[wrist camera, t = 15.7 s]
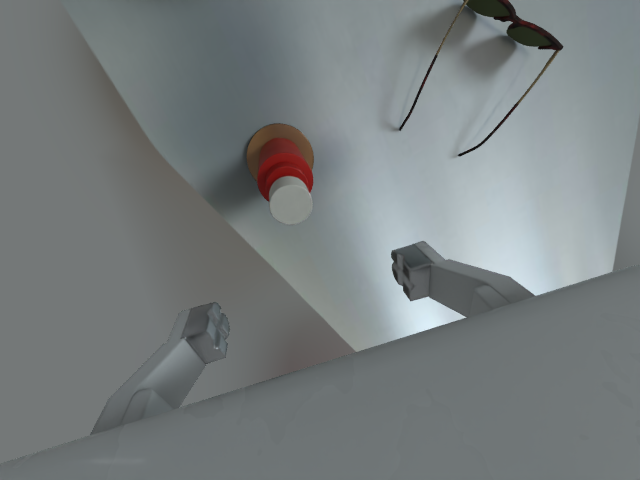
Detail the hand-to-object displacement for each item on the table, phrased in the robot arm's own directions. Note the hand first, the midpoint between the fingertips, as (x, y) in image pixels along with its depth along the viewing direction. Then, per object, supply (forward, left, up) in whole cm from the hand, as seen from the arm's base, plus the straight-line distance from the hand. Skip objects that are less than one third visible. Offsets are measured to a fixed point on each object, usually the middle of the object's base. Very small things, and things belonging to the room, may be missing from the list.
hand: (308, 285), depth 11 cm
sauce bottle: (0, 0, -26) cm, 26 cm away
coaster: (0, 0, -26) cm, 26 cm away
